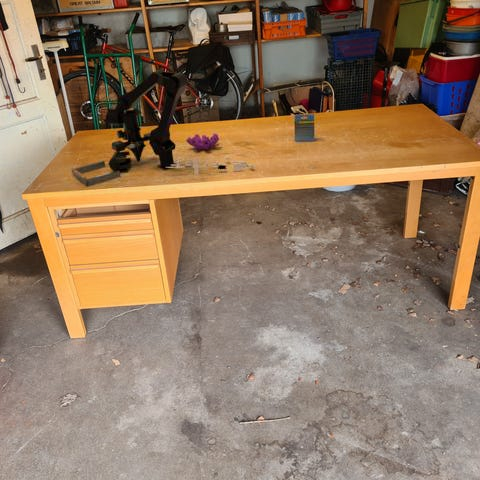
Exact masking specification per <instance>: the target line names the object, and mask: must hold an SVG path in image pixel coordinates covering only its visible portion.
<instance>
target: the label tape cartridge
mask: <svg viewBox="0 0 480 480" xmlns="http://www.w3.org/2000/svg"><path fill="white" fill-rule="evenodd" d="M314 141H315V113H313V114H312V113H311V114H294V142H295V143H297V142H298V143H299V142H314Z"/></svg>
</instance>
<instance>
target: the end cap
mask: <svg viewBox="0 0 480 480" xmlns="http://www.w3.org/2000/svg"><path fill="white" fill-rule="evenodd" d="M130 155H131V154H130V150H127V151H126V150H124V151H119V152H117V151H114V153H113V155H112V156H111V158H110V159H109V161H108V167H109V169H111V171H112V172H114V171H118V170H119V171H120V174H122V173H128V172H129V171H130V169H131V168H132V158H131V157H127V156H130Z"/></svg>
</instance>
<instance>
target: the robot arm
mask: <svg viewBox="0 0 480 480" xmlns="http://www.w3.org/2000/svg"><path fill="white" fill-rule="evenodd" d="M156 85H159V86H160V87H163V88H165V94H166V97H165V100H164V104H163V108H162V111H161V114H160V117H159V121H158V125H157V126H156V127H155V128H153V129H151V130H150V132H148V133H144V134H143V136H141V130H142V128H141V127H140V124H139V119H138V115H140V114H142V111H140V110H139V109H138V108H137V107H136V106H137V105H138V104H139V102H140V101H141V99H142V97H143V96H144V95H145V94H147V93H148V92H149V91H150V90H152V89H153V88H154V87H155V86H156ZM188 85H189V79H188V78H187V75H186V74H184V73H183V72H177V73H176V72H171V71H164V70H160V69H158V70H154V71H152V72H151V73H150V75H149V76H147V77H146V78H145V79H143V80H142V81H141V82H140V83H139V84H138V85H136V86H135V87H134V88H133V89H132V90H130V91H128V92H125V93H124V94H122V95H120V96H119V97H117V102H116V106H115V107H109V108H107V109H106V110H107V112H106V114H105V121H106V123H107V124H108V125H111V126H112V125H113V126H123V125H124V128H123V130H122V129H120V130H119V129H118V130H117V131H116V135H117V138H118V139H122V140H123V141H122V140H117V141H113V142H111V148H112V149H111V150H114V152H116V151H117V152H119V151H120V152H124V151H126V149H128V151H131V152H132V154H133V155H134V158H135V159H136V161H137V162H139V163H140V162H141V158H142V153H143V152H144V148H145V147H147V144H145V142H148V141H149V142H148V143H149V146H150V147H151V149H152V152H154V153H153V154H154V155H156V156H158V160H159V164H156V165H157V167H158V168H160V169H161V170H168V169H170V168H166V167H176V166H169V164H176V163H175V162H174V155H173V154H174V153H173V150H176V144H175V142H174V141H173V140H171V131H170V128H171V125H172V122H173V118H174V114H175V111H176V108H177V105H178V102H179V99H180V97H181V96H182V94H184V92H185V90H186V88H187V86H188ZM135 107H136V108H135ZM132 108H133V109H132Z"/></svg>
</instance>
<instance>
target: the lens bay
mask: <svg viewBox="0 0 480 480" xmlns="http://www.w3.org/2000/svg"><path fill="white" fill-rule="evenodd" d="M106 167H107V166H106V162H105V160H102V161H98V162H93V163H90V164H86V165H83V166H79V167H75V168H72V169H71V172H72V176H73V177H75V178H76V179H77V180H78V181H80V182H81V183H82V184H83V185H85V186H86V187H90V186H94V185H97V184H101V183H104V182H107V181H111V180H115V179H117V178H121V173H120V171H119V170H118V171H111V172H107V173H102V174H99V175H95V176H93V177H90V178H89V177H88V178H87V177H86V176H85V175H83V174H85V173H89V172H92V171H96V170H99V169H103V168H106Z"/></svg>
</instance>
